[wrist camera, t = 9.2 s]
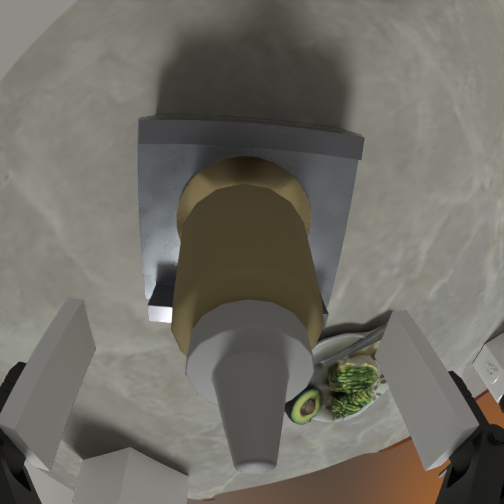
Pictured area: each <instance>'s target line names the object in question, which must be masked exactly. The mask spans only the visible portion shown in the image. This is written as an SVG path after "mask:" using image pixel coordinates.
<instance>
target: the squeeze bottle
mask: <svg viewBox="0 0 504 504" xmlns="http://www.w3.org/2000/svg"><path fill="white" fill-rule="evenodd" d="M323 327H324V318H323V307H322V300H321V295H320V290H319V285H318V281H317V276H316V272H315V267H314V263H313V258H312V254H311V250H310V246H309V241H308V237H307V233H306V229H305V225H304V222H303V220H302V219H301V217H300V215H299V214H298V212H297V211H296V209H295V208H294V206H293V205H292V203H291V202H290V201H288V200H287V199H285V198H284V197H282V196H281V195H279V194H278V193H276V192H274V191H273V190H271V189H270V188H265V187H260V186H254V185H248V184H239V185H234V186H229V187H225V188H220V189H217V190H215V191H214V192H212V193H211V194H209V195H208V196H206V197H205V198H204V199H202V200H201V201H199V202H198V203H196V204H195V206H194V208H193V209H192V211H191V213H190V214H189V216H188V217H187V219H186V221H185V222H184V224H183V229H182V236H181V243H180V250H179V257H178V265H177V273H176V281H175V289H174V298H173V307H172V322H171V331H172V333H173V335H174V337H175V339H176V342H177V344H178V346H179V348H180V350H181V351H182V352H183V353H184V354H185V355H186V356H187V361H186V373H185V375H186V377H187V379H188V381H189V383H190V385H191V386H192V388H193V390H194V391H195V392H197V393H198V394H199V395H200V396H202V397H203V398H204V399H206V400H207V401H208V402H210V403H212V404H215V405H218V406H219V410H220V414H221V418H222V422H223V426H224V430H225V433H226V437H227V441H228V445H229V449H230V452H231V456H232V460H233V463H234V467H235V469H236V470H238V471H240V472H242V473H247V474H259V473H265V472H268V471H271V470H272V469H274V468H275V467H276V464H277V457H278V451H279V444H280V437H281V430H282V423H283V416H284V408H285V402H288V401H290V400H292V399H293V398H294V397H295V396H297V395H298V394H299V393H300V392H301V391H303V390H304V389H305V388H306V387H307V386H308V383H309V381H310V379H311V377H312V375H313V373H314V371H315V369H314V360H313V353H312V350H313V349H314V348H315V346H316V344H317V342H318V339H319V337H320V335H321V332H322V330H323Z"/></svg>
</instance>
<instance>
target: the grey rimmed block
mask: <svg viewBox="0 0 504 504" xmlns="http://www.w3.org/2000/svg"><path fill="white" fill-rule="evenodd" d="M363 145H364V137H362V135H360V134H357V133H354V132H351V131H347V130H344V129H340V128H333V127H327V126H320V125H313V124H305V123H297V122H289V121H279V120H269V119H258V118H245V117H229V116H207V115H153V116H147V117H142V118H138V196H139V219H140V237H141V251H142V263H143V274H144V284H145V294H146V298H147V299H150V301H149V303H148V313H149V321H158V322H170V323H171V322H172V307H173V298H174V289H175V281H176V273H177V265H178V257H179V250H180V243H181V236H182V229H183V224H184V222H185V221H186V219H187V217H188V216H189V214H190V213H191V211H192V209H193V208H194V206H195V204H196V203H198V202H199V201H201V200H202V199H204V198H205V197H206V196H208V195H209V194H211V193H212V192H214V191H215V190H217V189H220V188H225V187H229V186H234V185H239V184H248V185H254V186H260V187H265V188H270V189H271V190H273V191H274V192H276V193H278V194H279V195H281V196H282V197H284V198H285V199H287V200H288V201H290V202H291V203H292V205H293V206H294V208H295V209H296V211H297V212H298V214H299V215H300V217H301V219H302V220H303V222H304V225H305V229H306V233H307V237H308V241H309V246H310V250H311V254H312V258H313V263H314V267H315V272H316V276H317V281H318V285H319V290H320V295H321V300H322V307H323V318H324V327H323V329H325V325H326V321H327V318H328V311H327V309H326V307H328V304H329V300H330V296H331V292H332V288H333V284H334V280H335V276H336V271H337V267H338V263H339V258H340V254H341V249H342V244H343V240H344V235H345V230H346V225H347V220H348V215H349V210H350V205H351V199H352V194H353V188H354V182H355V177H356V171H357V164H358V160H361V158H362V151H363Z"/></svg>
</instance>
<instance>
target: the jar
mask: <svg viewBox="0 0 504 504" xmlns="http://www.w3.org/2000/svg"><path fill="white" fill-rule="evenodd" d="M473 366H474V368H475V369H476V371H477V372H478V374H479V375H480V377H481V378H482V380H483V381H484V383H485V384H486V386H487V387H488V389H489V391H490V392H491V394H492V395H493V397H494V399H495V400H496V402H497V403H499V406H500V408H501V410H502V412H503V413H504V332H503V333H502V334H500V335H498V336H497V337H495V338H494V339H492V340H490V341H489V342H487V343H485V344H484V346H483V348H482V349H481V351H480V353H479V354H478V356H477V357H476V359H475V361H474V362H473Z"/></svg>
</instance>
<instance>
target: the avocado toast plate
mask: <svg viewBox="0 0 504 504" xmlns="http://www.w3.org/2000/svg"><path fill="white" fill-rule="evenodd" d="M386 327H387V324H385V325H383V326H380V327H378V328H377V329H374V330H373V331H369V332H364V333H344V334H340V335H336V336H333V337H328V338H325V339H322V340H321V341H319V342H318V343H317V344H316V346H315V348H314V349H313V350H312V353H313V360H314V369H315V371H314V373H313V375H312V377H311V379H310V381H309V383H308V386H307V387H306V388H305V389H304V390H303V391H301V392H300V393H299V394H298V395H297V396H295V397H294V398H293V399H292V400H290V401H288V402H285V408H284V412H286V414H287V415H288V417H289V418H290V419H291V421H293V422H294V423H297V424H306V423H307V422H310V421H311V419H314V420H318V421H322V422H339V421H344V420H347V419H349V418H353V417H355V416H356V415H358V414H360V413H361V412H363V411H364V410H365V409H367V408H368V407H369V406H370V405H371V404H372V403H373V402H374V401H375V400H376V399H377V398H378V397H380V396H381V395H382V394H383V393H384V392H385V391H386V390H388V389H389V386H388V384H387V382H386V380H385V377H384V375H383V373H382V371H381V372H380V375H379V376H378V378H377V373H378V372H377V371H378V368H377V365H376V363H375V361H374V360H376V359H375V354H376V352H377V349H378V347H379V344H380V342H381V340H382V337H383V335H384V332H385V330H386Z"/></svg>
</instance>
